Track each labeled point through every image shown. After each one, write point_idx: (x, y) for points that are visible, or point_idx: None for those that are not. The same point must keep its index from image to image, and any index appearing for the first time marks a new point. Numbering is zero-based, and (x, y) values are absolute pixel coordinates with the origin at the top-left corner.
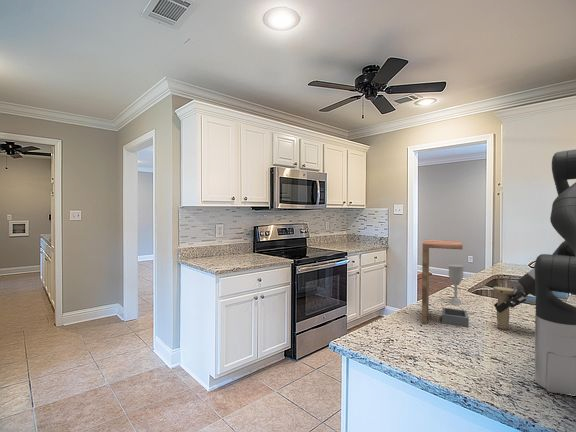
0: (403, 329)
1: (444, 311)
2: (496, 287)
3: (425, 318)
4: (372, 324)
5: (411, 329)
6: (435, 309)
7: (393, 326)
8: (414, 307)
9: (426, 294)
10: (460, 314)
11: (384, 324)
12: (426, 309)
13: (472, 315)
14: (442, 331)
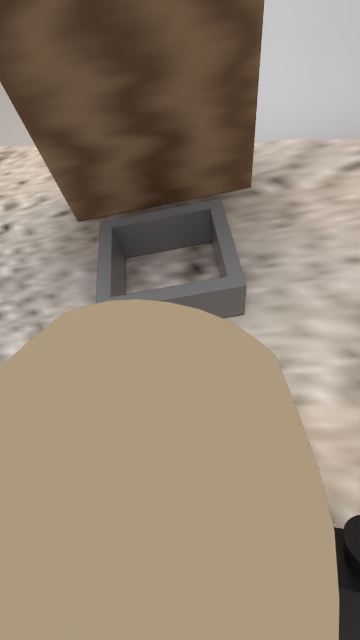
0: (7, 196)
1: (154, 217)
2: (151, 360)
3: (67, 200)
4: (23, 146)
5: (14, 208)
6: (297, 196)
7: (24, 175)
8: (260, 150)
9: (2, 85)
10: (224, 276)
11: (33, 159)
12: (50, 167)
13: (341, 328)
14: (24, 271)
